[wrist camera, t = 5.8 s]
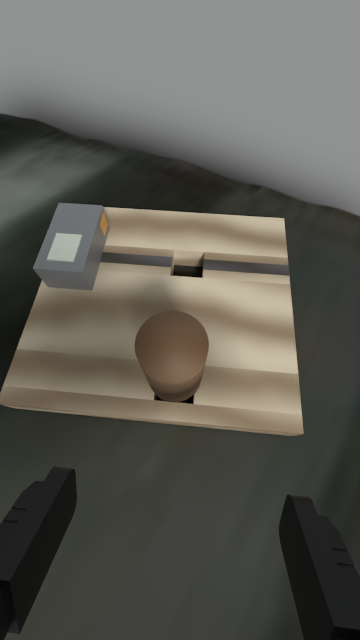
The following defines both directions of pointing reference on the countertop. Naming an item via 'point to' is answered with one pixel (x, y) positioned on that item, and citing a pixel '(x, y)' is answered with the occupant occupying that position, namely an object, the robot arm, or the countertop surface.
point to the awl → (172, 354)
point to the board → (169, 295)
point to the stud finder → (73, 247)
